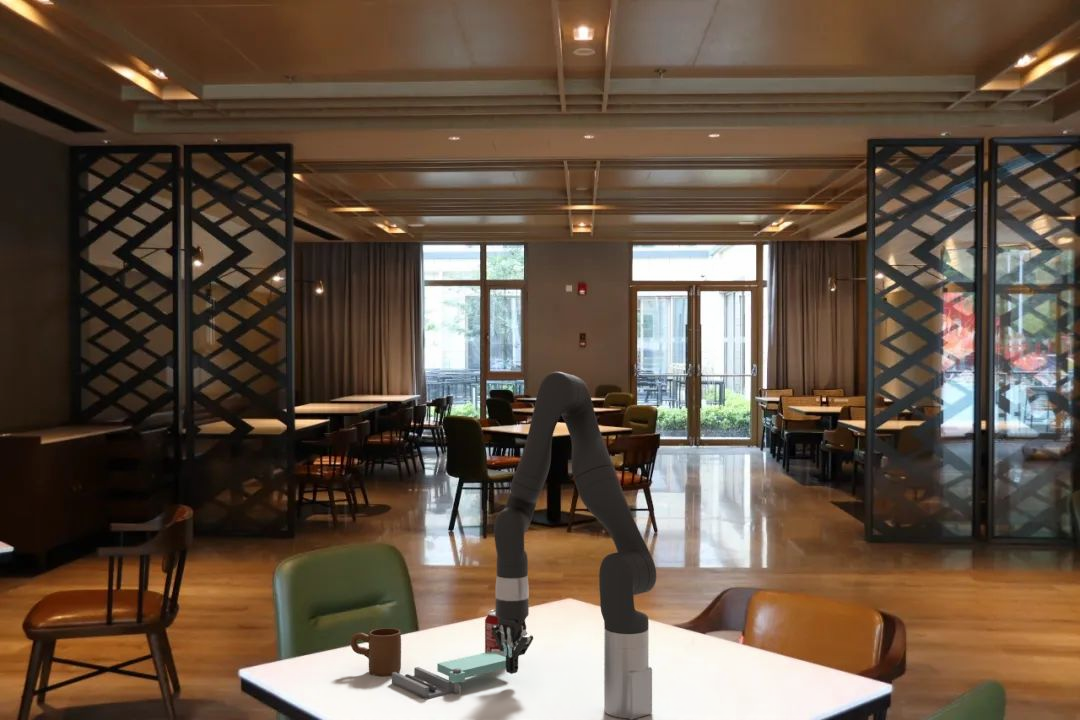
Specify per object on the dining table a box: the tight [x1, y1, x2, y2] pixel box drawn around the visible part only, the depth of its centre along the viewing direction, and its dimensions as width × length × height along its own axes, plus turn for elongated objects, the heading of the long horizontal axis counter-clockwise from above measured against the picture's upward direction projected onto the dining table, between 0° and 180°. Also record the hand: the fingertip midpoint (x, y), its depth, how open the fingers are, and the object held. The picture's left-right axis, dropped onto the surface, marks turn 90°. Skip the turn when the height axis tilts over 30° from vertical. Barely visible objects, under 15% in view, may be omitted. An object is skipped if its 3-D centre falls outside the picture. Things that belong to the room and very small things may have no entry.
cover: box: [436, 652, 506, 684], centre depth 221 cm, size 17×10×2 cm, turn 129°
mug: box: [349, 627, 402, 677], centre depth 229 cm, size 12×8×9 cm, turn 89°
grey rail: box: [391, 666, 461, 700], centre depth 217 cm, size 16×8×2 cm, turn 39°
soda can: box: [484, 609, 506, 657], centre depth 237 cm, size 7×7×12 cm
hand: (511, 672), depth 218 cm, fingers closed
